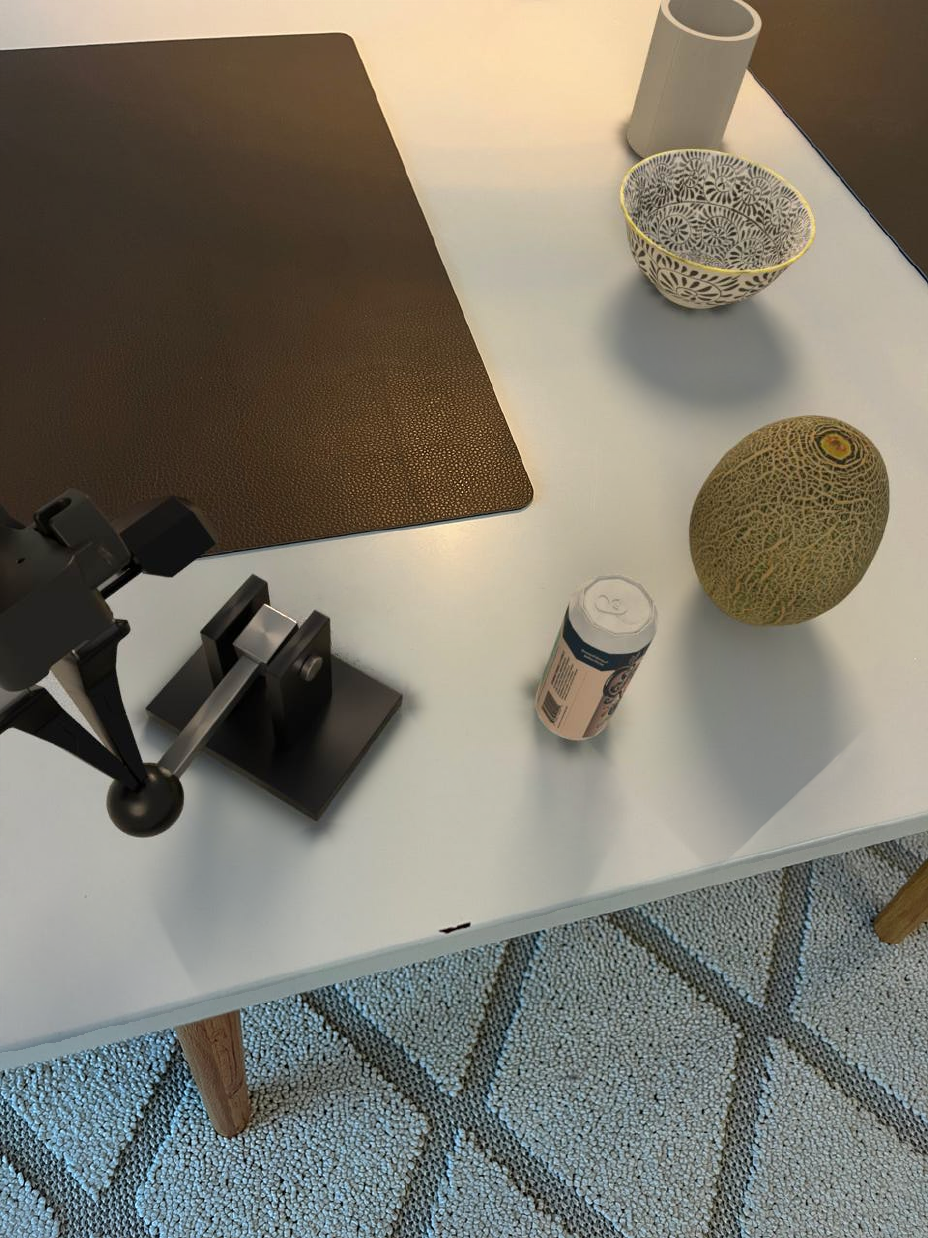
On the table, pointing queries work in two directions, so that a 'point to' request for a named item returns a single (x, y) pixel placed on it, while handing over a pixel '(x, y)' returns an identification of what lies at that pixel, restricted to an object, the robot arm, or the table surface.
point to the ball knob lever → (198, 732)
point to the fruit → (790, 520)
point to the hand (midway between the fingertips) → (137, 783)
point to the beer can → (595, 655)
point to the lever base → (282, 707)
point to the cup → (692, 75)
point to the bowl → (712, 225)
